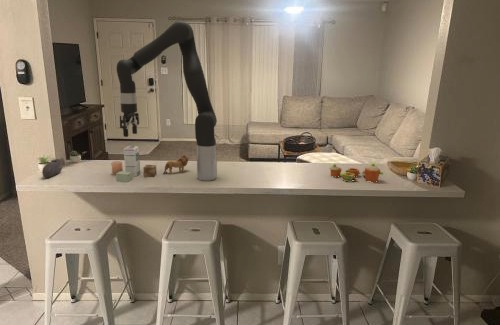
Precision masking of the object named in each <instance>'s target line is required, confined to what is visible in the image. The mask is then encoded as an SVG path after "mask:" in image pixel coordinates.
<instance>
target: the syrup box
mask: <svg viewBox="0 0 500 325" xmlns="http://www.w3.org/2000/svg"><path fill="white" fill-rule="evenodd" d="M123 157H124V167H125V168H124V172H132V177H138V175H139V174H141V164H140V150H139V146H138V145H127V146H126V147H124V148H123Z"/></svg>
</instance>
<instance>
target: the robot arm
mask: <svg viewBox="0 0 500 325" xmlns="http://www.w3.org/2000/svg"><path fill="white" fill-rule="evenodd" d="M176 44H178V46H179V49H180V52H181V56H182V58H181V59H182V72H183V78H184V81H185V85H186V87H187V90H188V92H189V94H190V95H191V97H192V99H193V101H194V103H195V106H196V110H197V116H196V117H195V121H194V132H195V134H194V135H195V140H196V141H195V142H196V171H197V172H196V176H197V177H196V178H197V180H199V181H205V182H206V181H215V180H216V179H217V177H218V159H217V158H216V157H217V156H216V155H217V154H216V147H217V146H216V145H217V142H216V138H215V127H216V126H217V119H218V118H217V115H216V113H215V111H214V109H213V108H214V107H213V105H212V103H211V99H210V94H209V90H208V86H207V81H206V78H205V73H204V71H203V67H202V63H201V60H200V57H199V55H198V52H197V47H196V40H195V33H194V30H193V27H192V26H191V25H190V24H189V23H187V22H186V21H183V20H176V21H175V22H174V23H172V24H171V25H170V26H169V27H168V28H167V29H166V30H165V31H163V33H161V34H160V35H159V36H157V37H156V38H155V39H153V40H152V41H151V42H148V44H146V45H144V46H143V47H141V48H139V49H138V50H137V51H135V52H134V53H133V56H131V57H130V58H128V59H120V60H118V62H117V63H116V74H117V78H118V82H119V89H120V92H119V93H120V97H119V98H120V111H121V113H123V115H119V128H120V129H122V132H123V134H122V135H123V137H124V138H128V137H129V126H131V130H132V131H131V132H132V134H133V135H137V134H138V126H140V117H139V116H140V115H139V112H138V102H137V100H138V99H137V98H138V97H137V91H136V90H137V88H136V83H135V81H134V80H133V76H132V75H134V74H136V73H137V72H139V71H140V70H141V69H142V68H143V67H144V66H145V65H148V64H150V63H151V62H152V61H155V59H157V58H158V57H159V56H160V55H161V54H162V53H163V52H165V50H167V49H168V48H170V47H172V46H173V45H176Z"/></svg>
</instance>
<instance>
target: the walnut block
mask: <svg viewBox="0 0 500 325" xmlns="http://www.w3.org/2000/svg"><path fill="white" fill-rule="evenodd" d="M142 170H143V177H144V178H154V177H156V175H157V164H145V165H144V166H143V169H142Z"/></svg>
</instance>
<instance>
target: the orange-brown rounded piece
mask: <svg viewBox="0 0 500 325" xmlns="http://www.w3.org/2000/svg"><path fill="white" fill-rule="evenodd" d="M120 171H123V172H124V170H123V162H122V161H118V160H117V161H112V162H111V172H112V174H111V175H113V176H116V173H118V172H120Z"/></svg>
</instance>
